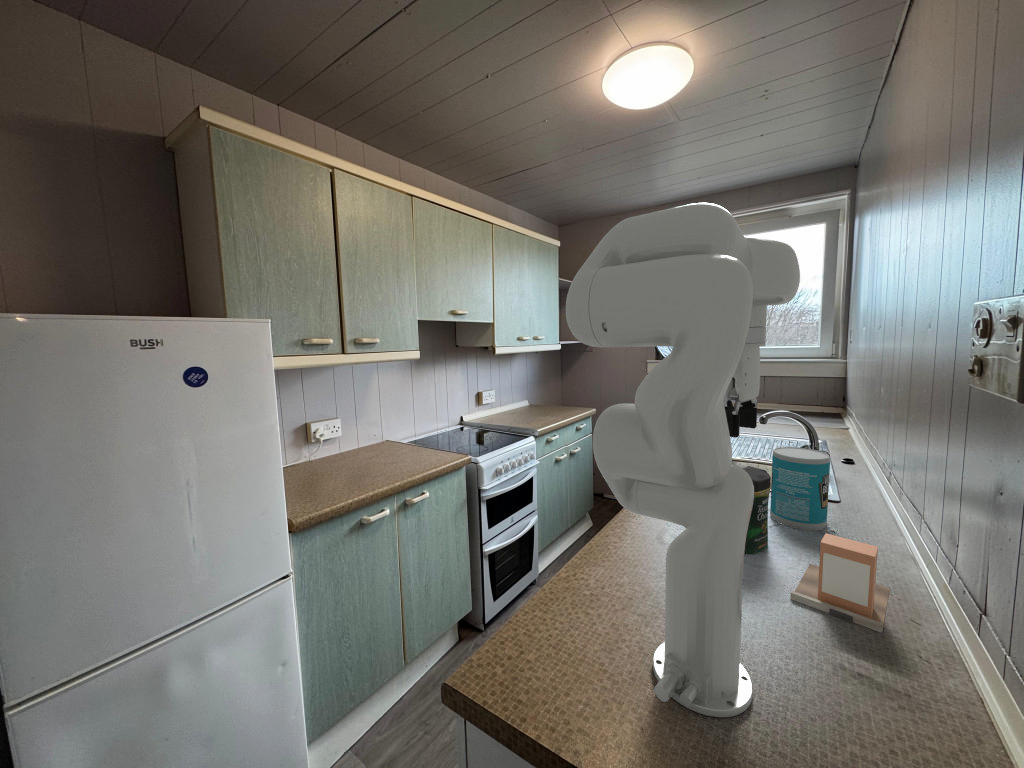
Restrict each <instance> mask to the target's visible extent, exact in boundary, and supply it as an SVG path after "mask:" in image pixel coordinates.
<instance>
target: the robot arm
mask: <svg viewBox="0 0 1024 768" xmlns="http://www.w3.org/2000/svg"><path fill="white" fill-rule="evenodd" d="M798 260H799V259H798V256H797V254H796V251H795V249H794V248H793V247H792V246H791V245H789V244H787V243H785V242H781V241H778V240H772V239H766V238H759V237H753V236H749V235H748V236H746V235H744V233H743V231H742V230H741V228H740V227H739V224H738V222H737V221H736V220H735V218H734V216H733V214H732V213H730V211H728V210H727V208H724V207H723V206H721V205H719V204H715V203H709V202H698V203H695V202H694V203H689V204H684V205H680V206H675V207H669V208H665V209H663V210H662V209H661V210H656V211H653V212H649V213H643V214H640V215H635V216H634V215H633V216H629V217H627V218H624V219H623V220H620V222H618V223H616V225H614V226H613V227H612V228H611V229H610V230H609V231H608V232H607V233H606V234H605V235H604V236H603V237H602V239H601V240H600V241H599V242H598V244H596V246H595V248H594V249H593V250H592V252H591V254H590V255H589V256H588V257H587V259H586V260H585V262H584V263H583V264H582V265H581V267H579V268H580V269H578V271H577V272H576V275H574V278H573V280H572V281H571V284H570V285H569V288H568V290H567V291H568V292H567V294H566V301H565V318H566V322H567V326H568V328H569V331H570V332H571V334H572V336H573V337H574V338H575V339H576V340H577V341H579V342H581V343H582V344H583V345H585V346H589V347H593V348H594V347H595V348H632V347H633V348H635V347H636V348H637V347H638V348H641V347H642V348H645V347H647V348H648V347H654V348H655V347H672V350H671V352H670V353H669V354H668V355H666V356H665V357H663V359H661V360H660V361H659V362H657V363H656V365H655V366H654V367H652V368H651V370H650V371H649V372H648V373H647V374H646V376H645V377H644V378H643V380H642V381H641V382H640V384H638V387H637V389H636V391H635V395H634V403H617V404H616V403H615V404H613V405H610V406H609V407H606V408H605V409H604V410H603V411H602V412H601V413H600V415H599V416H598V418H597V419H596V422H595V425H594V428H593V433H592V450H593V451H592V452H593V455H594V456H593V457H594V461H595V463H596V466H597V468H598V470H599V472H600V474H601V476H602V477H603V478H604V479H603V480H605V482H606V484H607V485H608V487H609V489H610V490H611V492H612V495H614V497H615V499H616V500H617V502H618V503H619V505H621V506H622V508H624V509H625V510H627V511H628V512H631V513H634V514H636V515H640V516H645V517H648V518H652V519H656V520H662V521H664V522H669V523H672V524H675V525H679V526H681V527H683V528H684V530H683V531H682V532H680V533H679V534H678V535H677V536H676V537H674V539H673V540H672V541H671V543H670V544H669V545H668V548H667V549H666V553H665V579H664V580H665V586H664V591H665V592H664V593H665V594H664V599H665V600H664V641H663V642H662V643H661V644H659V646H658V647H657V648H655V650H654V653H653V656H652V657H653V658H652V669H653V674H654V677H655V678H656V679H655V680H656V681H657V683H656V685H655V686H654V693H655V696H656V697H657V698H658V700H660V701H661V702H664V703H667V702H669V700H670V699H671V698H672V699H673V700H674V701H676V702H677V703H679V704H680V705H682V706H684V707H685V708H687V709H688V710H691V711H694V712H696V713H698V714H701V715H704V716H708V717H714V718H730V717H735V716H738V715H741V714H742V713H744V712H745V711H746V710H747V709H749V707H750V706H751V703H752V700H753V684H752V680H751V677H750V675H749V673H748V672H747V670H746V669H745V668H744V666H743V665H742V664H741V641H742V616H743V614H742V613H743V612H742V611H743V609H742V608H743V589H744V588H743V585H744V583H743V581H744V579H743V578H744V560H745V554H744V550H745V542H746V535H747V530H748V525H749V520H750V516H751V511H752V507H753V501H754V486H753V482H752V479H751V477H750V476H749V474H748V473H747V472H746V471H745V470H744V469H742V468H743V467H741V466H739V465H738V464H736V463H733V448H732V443H731V438H735V439H736V438H739V437H740V429H741V428H746V429H756V428H757V423H758V422H757V419H758V400H757V397H758V396H759V394H760V389H761V349H760V348H761V347H766V342H767V341H766V340H767V339H766V337H767V336H766V335H767V315H768V314H767V313H768V306H780V305H785V304H788V303H790V302H791V301H792V300H793V299H794V298H795V296H796V294H797V292H798V290H799V287H800V282H801V271H800V265H799V261H798Z"/></svg>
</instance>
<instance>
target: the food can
mask: <svg viewBox="0 0 1024 768" xmlns="http://www.w3.org/2000/svg"><path fill="white" fill-rule="evenodd" d="M771 460H772V461H771V489H770V505H769V506H770V509H769V511H770V512H769V513H770V517H771V516H772V517H771V519H772V520H773V519H775V520H776V521H777V523H778V522H779V524H780V523H782V524H781V525H783V524H784V525H783V526H785V525H786V526H785V527H788V526H789V527H788V528H793V529H796V528H797V529H798V530H801V529H803V531H820V530H824V529H825V528H826V526H827V524H828V523H827V522H828V508H829V505H828V504H829V490H830V489H829V487H830V472H831V471H830V470H831V457H830V455H829V454H828V453H826V452H824V451H821V450H816V449H811V448H804V447H796V446H795V447H794V446H781V447H780V446H779V447H776V448H774V449H773V450H772V459H771ZM775 520H774V521H775ZM776 521H775V522H776ZM797 529H796V530H797Z"/></svg>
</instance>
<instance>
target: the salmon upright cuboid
mask: <svg viewBox="0 0 1024 768" xmlns="http://www.w3.org/2000/svg"><path fill="white" fill-rule="evenodd" d="M819 544H820V545H819V546H820V551H819V565H818V566H819V582H818V600H820V601H823V602H825V603H828V604H831V605H834V606H837V607H839V608H842V609H845V610H848V611H851V612H853V613H856V614H859V615H862V616H865V617H867V618H870V619H871V618H872V614H873V610H874V598H875V584H877V582H876V580H877V579H876V578H877V565H878V555H879V553H878V552H879V551H878V550H879V547H878V546H877V545H874V544H873V545H872V544H870V543H869V544H868V543H864V542H862V541H859V540H858V541H857V540H854V539H849V538H846V537H842V536H838V535H833V534H830V533H827V532H825V534H824V535H823V537H822V538H821V540H820V543H819Z"/></svg>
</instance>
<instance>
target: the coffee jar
mask: <svg viewBox="0 0 1024 768" xmlns="http://www.w3.org/2000/svg"><path fill="white" fill-rule="evenodd" d="M741 468H742V469H744V470H745V471H746V472H747V473H748V474H749V476H750V477H751V479H752V482H753V486H754V501H753V507H752V511H751V516H750V520H749V525H748V530H747V535H746V542H745V550H744V555H756V554H759V553H762V552H764V551H765V550H766V549H768V547H769V529H768V528H769V525H768V524H769V499H770V495H771V480H772V476H771V475H770V473H769V472H768V471H767V470H766V469H763V468H758V467H756V466H755V467H754V466H750V465H748V466H744V467H741Z"/></svg>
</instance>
